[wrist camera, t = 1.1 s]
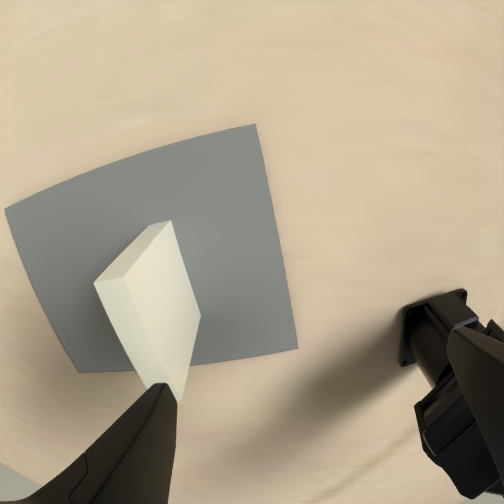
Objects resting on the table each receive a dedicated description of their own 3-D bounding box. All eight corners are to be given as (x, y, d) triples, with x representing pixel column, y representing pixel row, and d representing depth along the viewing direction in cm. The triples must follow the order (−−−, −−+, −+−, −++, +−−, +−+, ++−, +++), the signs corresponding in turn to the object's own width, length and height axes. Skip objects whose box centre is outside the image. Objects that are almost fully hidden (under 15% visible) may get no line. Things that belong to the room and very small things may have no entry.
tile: (201, 315, 21) (181, 401, 13) (180, 318, 21) (154, 402, 14) (170, 219, 18) (123, 276, 11) (148, 225, 18) (92, 282, 11)
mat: (297, 345, 22) (298, 348, 22) (80, 369, 24) (79, 372, 23) (255, 124, 17) (255, 123, 16) (7, 207, 18) (4, 209, 18)
